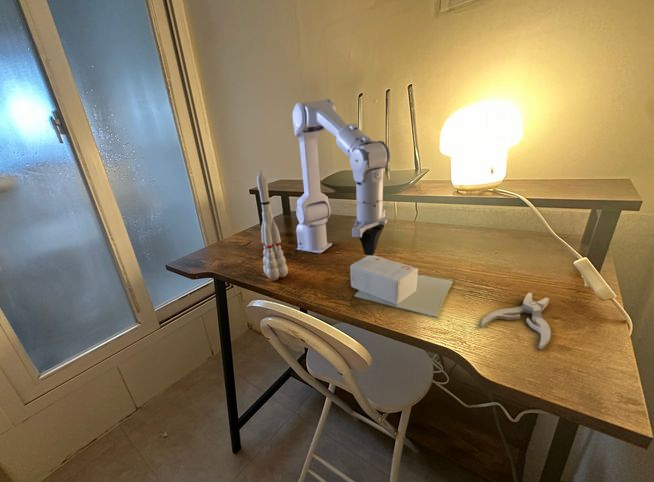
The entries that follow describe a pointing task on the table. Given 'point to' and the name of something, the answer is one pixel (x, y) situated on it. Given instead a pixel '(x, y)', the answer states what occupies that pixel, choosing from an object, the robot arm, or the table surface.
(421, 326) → the table surface
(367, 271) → the small box
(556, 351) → the table surface
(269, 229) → the rocket model
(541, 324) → the pliers
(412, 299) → the mat
